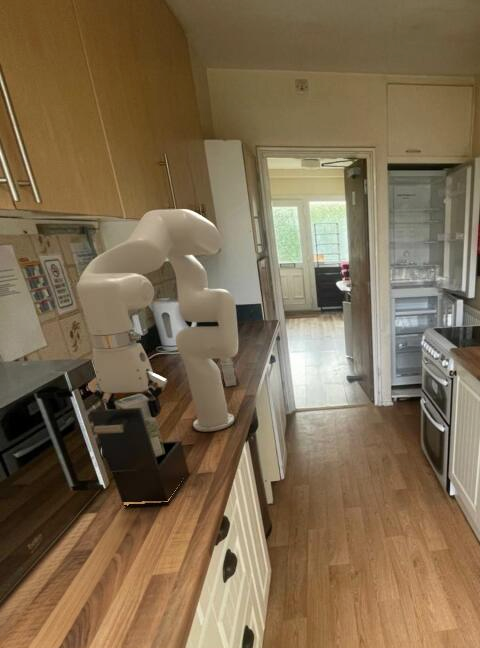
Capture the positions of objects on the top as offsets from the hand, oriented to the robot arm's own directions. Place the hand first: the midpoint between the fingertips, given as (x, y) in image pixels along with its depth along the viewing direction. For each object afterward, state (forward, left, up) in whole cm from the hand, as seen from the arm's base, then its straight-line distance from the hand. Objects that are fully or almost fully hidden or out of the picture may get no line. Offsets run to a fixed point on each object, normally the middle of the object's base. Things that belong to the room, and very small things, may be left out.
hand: (136, 415), depth 96 cm
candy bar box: (-79, -3, -20) cm, 81 cm away
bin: (0, 0, -20) cm, 20 cm away
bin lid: (+7, 0, -3) cm, 7 cm away
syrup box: (0, 0, -11) cm, 11 cm away
